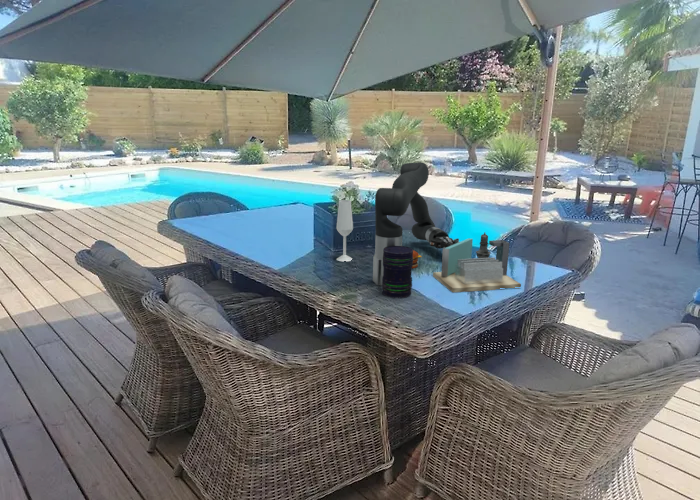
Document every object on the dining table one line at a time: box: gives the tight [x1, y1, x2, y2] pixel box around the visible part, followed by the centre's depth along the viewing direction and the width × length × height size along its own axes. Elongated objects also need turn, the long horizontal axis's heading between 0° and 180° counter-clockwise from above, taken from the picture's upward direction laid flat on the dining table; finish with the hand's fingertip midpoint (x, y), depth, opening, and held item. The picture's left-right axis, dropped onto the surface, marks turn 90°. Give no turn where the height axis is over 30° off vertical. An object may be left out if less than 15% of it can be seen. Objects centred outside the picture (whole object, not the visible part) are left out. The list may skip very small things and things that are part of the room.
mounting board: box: [432, 271, 522, 293], centre depth 181 cm, size 25×18×2 cm
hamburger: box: [412, 249, 423, 269], centre depth 199 cm, size 9×10×7 cm
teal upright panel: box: [440, 238, 473, 277], centre depth 187 cm, size 21×2×10 cm, turn 142°
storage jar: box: [381, 245, 414, 299], centre depth 167 cm, size 10×10×15 cm
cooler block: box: [455, 239, 510, 284], centre depth 179 cm, size 20×12×12 cm, turn 102°
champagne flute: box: [335, 199, 354, 262], centre depth 205 cm, size 7×7×24 cm
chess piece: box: [475, 232, 491, 258], centre depth 206 cm, size 6×6×12 cm
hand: (453, 247), depth 199 cm, fingers closed
